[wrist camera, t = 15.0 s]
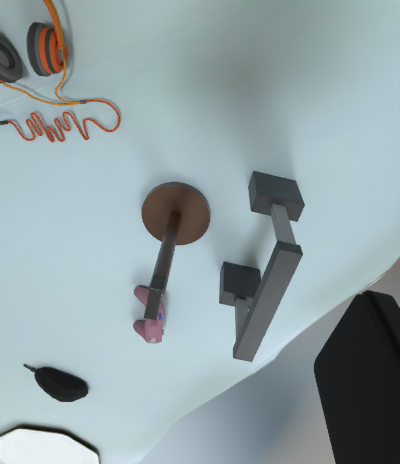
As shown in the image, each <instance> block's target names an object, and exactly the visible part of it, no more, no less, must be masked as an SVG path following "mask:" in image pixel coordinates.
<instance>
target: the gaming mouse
mask: <svg viewBox="0 0 400 464" xmlns="http://www.w3.org/2000/svg"><path fill="white" fill-rule="evenodd" d="M24 367H26V368H28V369H30V371H32V372H34V373H35V375H34V376H35V379H36V381H37V383H38V385H39V386H40V388H42V389H43V390H44V391H45V392H46V393H47V394H49V395H50V396H51V397H52V398H54V399H56V400H58V401H60V402H73V401H75V400H78V399H80V398H83V397H85V396H86V395H87V394H88V389H87V386H86V384H85V383H84V382H82V381H81V380H80V379H78V378H76V377H73V376H70V375H68V374H65V373H62V372H60V371H57V370H54V369H51V368H42V369H40V370H38V371H37V370H35V369H34V368H30V367H28V366H27V365H25V364H24Z"/></svg>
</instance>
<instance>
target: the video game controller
mask: <svg viewBox="0 0 400 464" xmlns="http://www.w3.org/2000/svg"><path fill="white" fill-rule="evenodd" d="M148 293H149V290H148V289H146V288H143V287H137V288H135V290H134V294H135V296H136V297H137V298H138V299H139V300H140V301H141V302H142V303H143V304H144V305H145V307H146V304H147V299H148ZM164 314H165V313H164V306H163V302H162V300H161V305H160V309H159V314H158V318H157V321H156V320H151V319H146V322H142V321H136V322H134V324H133V328H134V330H135V331H136V332H137V333H138V334H139V335H140V336H142V337H143V338H144V339H145V341H146V342H148V343H149V344H150V343H159V342H161V341H162V335H163V334H164V330H163V329H162V318H164Z"/></svg>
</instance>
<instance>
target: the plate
mask: <svg viewBox="0 0 400 464" xmlns="http://www.w3.org/2000/svg"><path fill="white" fill-rule="evenodd" d="M0 461H1V462H2V463H3V464H99V455H98V454H97V453H96V452H95V451H93V450H91V449H90V448H88V447H86V446H85V445H83V444H82V443H80V442H78V441H77V440H75V439H73V438H72V437H70V436H68V435H66V434H63V433H58V432H51V431H43V430H35V429H28V428H17V429H15V430H13V431H11V432H9V433H6V434H4V435H2V436H0Z"/></svg>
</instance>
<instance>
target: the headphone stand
mask: <svg viewBox="0 0 400 464" xmlns="http://www.w3.org/2000/svg"><path fill="white" fill-rule="evenodd" d="M142 220H143V223H144V225H145V227H146V229H147V230H148V231H149V233H150V234H151V235H152V236H154V237H155V238H156V239H158V240H160V241H161V242H162V244H161V248H160V251H159V255H158V258H157V262H156V265H155V269H154V272H153V276H152V279H151V283H150V286H149V293H148V299H147V304H146V309H145V315H144V318H146V319H151V320H156V321H157V318H158V314H159V309H160V305H161V300H162V296H163V294H164V293H165V291H166V286H167V282H168V277H169V273H170V268H171V264H172V260H173V255H174V251H175V246H176V245H186V244H190V243H192V242H195V241H196V240H198V239H199V238H201V237H202V236H203V235H204V233H205V232H206V230H207V229H208V226H209V222H210V208H209V204H208V202H207V200H206V199H205V197H204V196H203V195H202V194H201V193H200V192H199V191H198V190H197V189H195V188H194V187H192V186H190V185H187V184H184V183H178V182H171V183H165V184H162V185H159V186H157V187H156V188H154V189H153V190H152V191H151V192H150V193H149V194H148V195H147V197H146V199H145V201H144V204H143V207H142Z"/></svg>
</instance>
